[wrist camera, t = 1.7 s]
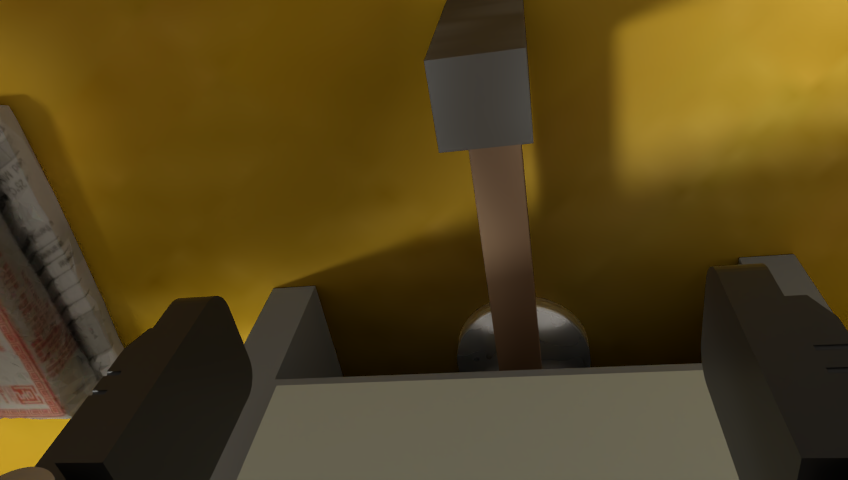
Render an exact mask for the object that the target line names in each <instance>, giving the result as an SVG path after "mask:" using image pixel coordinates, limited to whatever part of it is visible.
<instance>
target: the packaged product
mask: <svg viewBox="0 0 848 480" xmlns="http://www.w3.org/2000/svg"><path fill="white" fill-rule="evenodd" d="M123 349H124V347H123V345H122V343H121V341H120V339H119V337H118V335H117V332H116V330H115V327H114V325H113V322H112V320H111V318H110V315H109V313H108V310H107V308H106V306H105V303H104V301H103V298H102V296H101V294H100V292H99V290H98V288H97V286H96V284H95V281H94V279H93V277H92V275H91V272H90V270H89V268H88V266H87V264H86V261H85V259H84V257H83V254H82V252H81V250H80V248H79V245H78V243H77V241H76V239H75V237H74V235H73V232H72V230H71V228H70V226H69V224H68V222H67V220H66V218H65V216H64V214H63V212H62V209H61V207H60V205H59V203H58V201H57V198H56V196H55V194H54V192H53V190H52V188H51V186H50V184H49V182H48V180H47V178H46V176H45V174H44V172H43V170H42V168H41V166H40V164H39V162H38V160H37V158H36V156H35V154H34V152H33V150H32V148H31V146H30V144H29V142H28V140H27V138H26V136H25V134H24V132H23V130H22V128H21V126H20V124H19V122H18V121H17V119H16V117H15V115H14V114H13V112H12V110H11V109H10V107H9V106H6V105H0V419H1V418H4V417H6V418H30V419H68V418H72V417H73V415H74V414H75V413H76V411H77V410H78V409H79V407H80V406H81V405H82V404H83V402H84V401H85V400H86V398H87V397H88V396H89V395H92V394H93V391H92V390H93V389H94V388H95V386H96V385H97V384H98V382H99V381H100V380H101V378H102V377H103V376H107V371H108V369H109V368H110V367H111V365H112V364H113V363H114V361H115V360H116V359H117V357H118V356H119V355H120V353H121V352H122V351H123Z"/></svg>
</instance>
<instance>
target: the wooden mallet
mask: <svg viewBox="0 0 848 480" xmlns="http://www.w3.org/2000/svg"><path fill="white" fill-rule="evenodd" d="M424 65H425V71H426V77H427V83H428V89H429V95H430V101H431V107H432V113H433V119H434V125H435V131H436V137H437V143H438V149H439V153H442V152H452V151H462V150H469V156H470V164H471V171H472V178H473V185H474V192H475V200H476V207H477V214H478V221H479V229H480V236H481V243H482V250H483V258H484V265H485V272H486V279H487V286H488V294H489V301H490V308H491V315H492V323H493V330H494V337H495V344H496V352H497V359H498V366H499V371H511V370H538V369H542V362H541V351H540V340H539V329H538V318H537V307H536V296H535V285H534V274H533V263H532V252H531V241H530V230H529V219H528V208H527V197H526V186H525V175H524V164H523V153H522V144H530V143H533V128H532V113H531V99H530V84H529V69H528V56H527V43H526V31H525V18H524V5H523V0H447V1H446V4H445V6H444V9H443V12H442V14H441V17H440V20H439V22H438V25H437V27H436V30H435V33H434V35H433V38H432V41H431V43H430V46H429V49H428V51H427V54H426V57H425V59H424Z"/></svg>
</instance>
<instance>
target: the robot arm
mask: <svg viewBox="0 0 848 480" xmlns="http://www.w3.org/2000/svg"><path fill="white" fill-rule="evenodd" d="M701 358H702V367H703V373H704V377H705V381H706V385H707V388H708V391H709V393H710V396H711V399H712V402H713V405H714V408H715V411H716V414H717V417H718V420H719V422H720V425H721V428H722V431H723V434H724V437H725V440H726V443H727V446H728V449H729V451H730V454H731V457H732V460H733V463H734V466H735V469H736V472H737V475H738V478H739V480H848V331H847V330H846V328H845V327H844V325H843V324H842V322H841V321H840V319H839V318H838V317H837V316H836V315H835V314H833V313H832V312H830V311H829V310H828V309H826V308H825V307H823V306H822V305H821V304H819V303H818V302H816V301H815V300H814V299H812V298H811V297H809V296H808V295H793V296H784V294H783V293H782V291H781V289H780V287H779V286H778V284H777V282H776V281H775V279H774V277H773V275H772V274H771V272H770V270H769V269H768V267H767V266H766V265H765V264H763V263H759V264H743V265H727V266H711V267H709V269H708V271H707V276H706V286H705V299H704V312H703V324H702V337H701ZM252 377H253V375H252V366H251V362H250V359H249V356H248V354H247V351H246V349H245V346H244V344H243V341H242V339H241V336H240V334H239V331H238V329H237V326H236V324H235V321H234V319H233V316H232V314H231V311H230V309H229V307H228V304H227V303H226V301H225V300H224V299H223V298H222V297H220V296H210V297H194V298H178V299H176V300H174V301H173V302H172V303H171V304H170V306H169V307H168V308H167V310H166V311H165V312H164V314H163V315H162V317H161V318H160V319H159V321H158V322H157V323H156V325H155V326H154V327H153V328H149V329H148V330H147V331H146V332H144V333H143V334H142V335H141V336H139V337H138V338H137V339H136V340H134V341H133V342H132V343H131V344H129V345H128V346H127V347H126V348H124V349H123V351H122V352H121V353H120V355H119V356H118V357H117V359H116V360H115V361H114V363H113V364H112V365H111V367H110V368H109V369H108V371H107V376H103V377H102V378H101V380H100V381H99V382H98V384H97V385H96V386H95V388H94V389H93V390H92V391H93V394H92V395H89V396H88V397H87V398H86V400H85V401H84V402H83V404H82V405H81V406H80V407H79V409H78V410H77V411H76V413H75V414H74V415H73V417H72V418H71V419H70V421H69V422H68V423H67V425H66V426H65V427H64V429H63V430H62V431H61V433H60V434H59V435H58V436H57V438H56V439H55V440H54V442H53V443H52V444H51V446H50V447H49V448H48V450H47V451H46V452H45V454H44V455H43V456H42V458H41V459H40V460H39V462H38V463H37V464H36V466H35V467H26V468H21V469H17V470H14V471H11V472H8V473H6V474H3V475H1V476H0V480H210V478H211V476H212V474H213V472H214V470H215V467H216V465H217V463H218V461H219V459H220V457H221V455H222V453H223V450H224V448H225V446H226V444H227V442H228V440H229V438H230V436H231V434H232V431H233V429H234V427H235V425H236V423H237V421H238V419H239V417H240V414H241V412H242V410H243V408H244V406H245V404H246V402H247V400H248V397H249V395H250V392H251V387H252Z"/></svg>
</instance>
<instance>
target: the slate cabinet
mask: <svg viewBox="0 0 848 480" xmlns="http://www.w3.org/2000/svg"><path fill="white" fill-rule="evenodd" d="M759 263H763V264H765V265H766V266H767V267H768V269H769V270H770V272H771V274H772V275H773V277H774V279H775V281H776V282H777V284H778V286H779V287H780V289H781V291H782V293H783V294H784V296H793V295H808V296H809V297H811V298H812V299H814V300H815V301H816V302H818V303H819V304H821V305H822V306H823V307H825V308H826V309H828V310H829V311H830V312H832V311H831V309H830V308H829V306H828V305H827V303H826V302H825V300H824V299H823V297H822V296H821V294H820V292H819V291H818V289H817V288H816V286H815V285H814V283H813V282H812V280H811V279H810V277H809V276H808V274H807V273H806V271H805V270H804V268H803V267H802V265H801V264H800V262H799V261H798V259H797V258H796V256H795V255H794V254H789V255H774V256H759V257H744V258H739V264H738V265H743V264H759ZM832 313H833V312H832ZM244 346H245V349H246V351H247V354H248V356H249V359H250V362H251V366H252V375H253V377H252V387H251V392H250V395H249V397H248V400H247V402H246V404H245V406H244V408H243V410H242V412H241V414H240V417H239V419H238V421H237V423H236V425H235V427H234V429H233V431H232V434H231V436H230V438H229V440H228V442H227V444H226V446H225V448H224V450H223V453H222V455H221V457H220V459H219V461H218V463H217V465H216V467H215V470H214V472H213V474H212V476H211V478H210V480H739V478H738V475H737V472H736V469H735V466H734V463H733V460H732V457H731V454H730V451H729V449H728V446H727V443H726V440H725V437H724V434H723V431H722V428H721V425H720V422H719V420H718V417H717V414H716V411H715V408H714V405H713V402H712V399H711V396H710V393H709V391H708V388H707V385H706V381H705V377H704V373H703V367H702V363H694V364H668V365H642V366H616V367H590V368H564V369H538V370H511V371H485V372H459V373H433V374H407V375H381V376H355V377H343V374H342V371H341V368H340V364H339V361H338V358H337V355H336V351H335V348H334V345H333V342H332V338H331V335H330V332H329V329H328V326H327V322H326V319H325V316H324V313H323V309H322V306H321V303H320V300H319V296H318V293H317V290H316V287H315V286H305V287H290V288H275V289H273V290H272V292H271V294H270V296H269V298H268V300H267V302H266V303H265V305H264V307H263V309H262V311H261V313H260V315H259V317H258V319H257V321H256V323H255V324H254V326H253V328H252V330H251V332H250V334H249V336H248V338H247V340H246V342H245V344H244Z"/></svg>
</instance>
